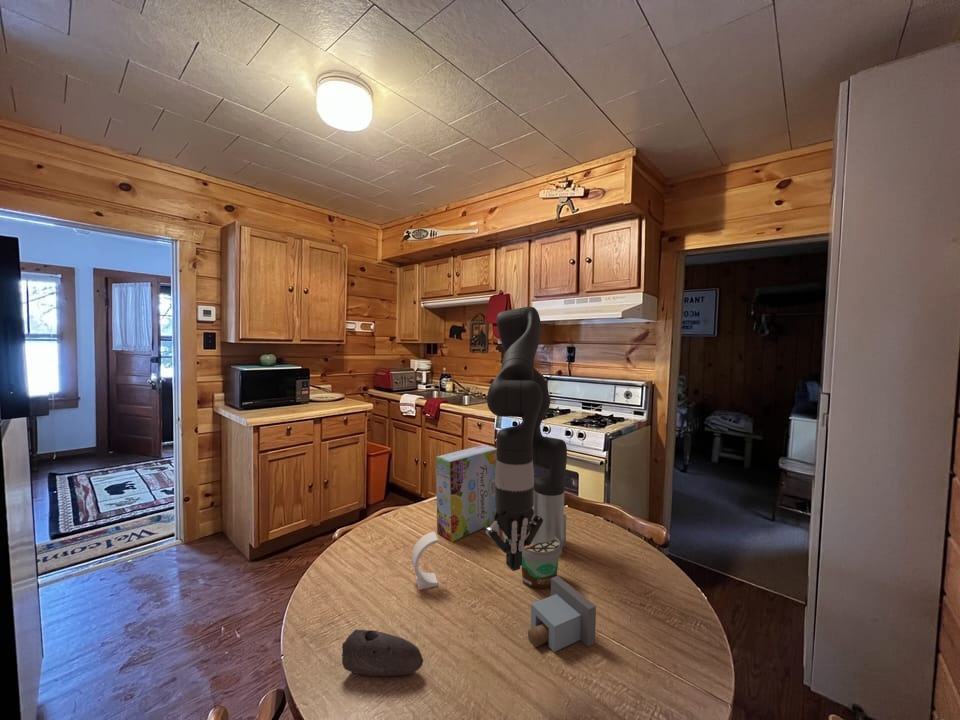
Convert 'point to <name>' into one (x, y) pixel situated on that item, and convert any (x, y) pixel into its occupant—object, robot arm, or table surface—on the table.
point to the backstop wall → (577, 608)
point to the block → (557, 621)
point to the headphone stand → (422, 577)
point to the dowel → (538, 635)
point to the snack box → (465, 491)
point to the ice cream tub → (540, 564)
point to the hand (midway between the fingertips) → (513, 568)
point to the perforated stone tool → (379, 654)
